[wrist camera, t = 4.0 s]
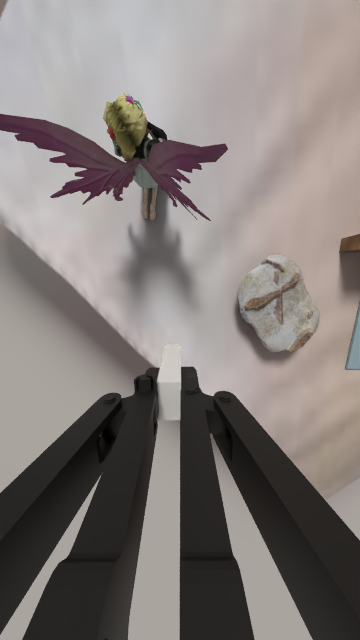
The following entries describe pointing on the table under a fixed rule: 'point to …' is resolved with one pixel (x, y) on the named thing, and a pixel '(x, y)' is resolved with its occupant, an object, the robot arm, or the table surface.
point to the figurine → (119, 154)
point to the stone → (278, 304)
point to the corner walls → (350, 244)
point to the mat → (355, 346)
